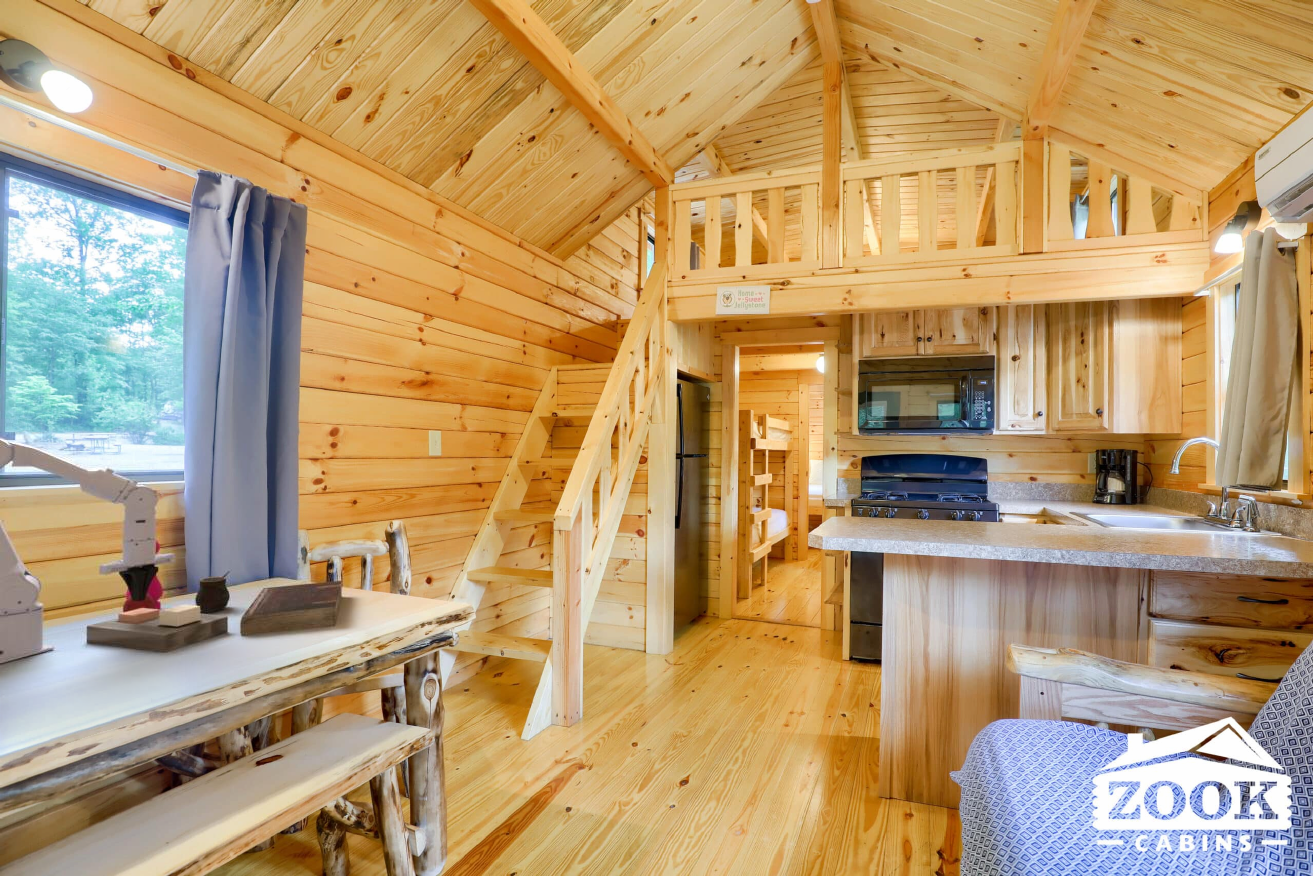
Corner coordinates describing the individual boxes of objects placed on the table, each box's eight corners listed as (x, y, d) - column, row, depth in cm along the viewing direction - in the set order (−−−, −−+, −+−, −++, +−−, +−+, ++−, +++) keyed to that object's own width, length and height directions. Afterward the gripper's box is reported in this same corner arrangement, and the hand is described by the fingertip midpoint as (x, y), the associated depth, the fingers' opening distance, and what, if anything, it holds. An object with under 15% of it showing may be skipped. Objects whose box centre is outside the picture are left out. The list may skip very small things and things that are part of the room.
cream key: (177, 626, 133) (177, 612, 133) (159, 624, 134) (159, 610, 134) (200, 619, 138) (200, 606, 138) (182, 618, 139) (182, 604, 139)
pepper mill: (141, 616, 153) (141, 534, 153) (118, 614, 155) (117, 533, 155) (170, 608, 160) (170, 530, 160) (147, 607, 162) (147, 529, 162)
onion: (160, 619, 151) (161, 585, 151) (138, 626, 146) (139, 591, 146) (138, 618, 152) (139, 585, 152) (116, 625, 146) (116, 591, 146)
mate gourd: (202, 607, 162) (202, 568, 162) (235, 605, 164) (236, 567, 164) (189, 614, 155) (190, 574, 155) (224, 613, 157) (225, 573, 157)
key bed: (164, 652, 128) (164, 635, 128) (86, 642, 134) (86, 626, 134) (227, 632, 142) (227, 616, 142) (154, 623, 147) (154, 609, 147)
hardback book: (262, 605, 166) (262, 586, 166) (341, 598, 173) (341, 580, 173) (240, 637, 139) (240, 615, 139) (335, 628, 147) (335, 606, 147)
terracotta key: (135, 629, 136) (135, 615, 136) (118, 627, 138) (118, 613, 138) (158, 623, 141) (159, 609, 141) (142, 621, 142) (142, 608, 142)
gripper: (116, 545, 131) (116, 610, 131) (185, 535, 145) (184, 594, 145) (92, 543, 133) (91, 607, 133) (162, 534, 147) (161, 591, 147)
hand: (138, 600), depth 139 cm, fingers closed
